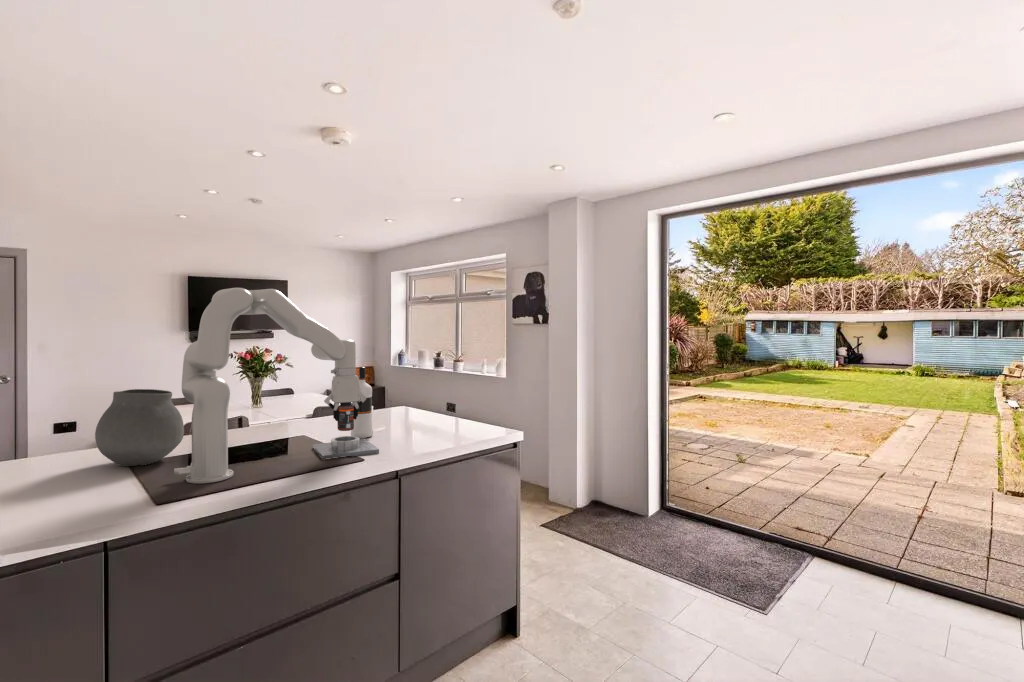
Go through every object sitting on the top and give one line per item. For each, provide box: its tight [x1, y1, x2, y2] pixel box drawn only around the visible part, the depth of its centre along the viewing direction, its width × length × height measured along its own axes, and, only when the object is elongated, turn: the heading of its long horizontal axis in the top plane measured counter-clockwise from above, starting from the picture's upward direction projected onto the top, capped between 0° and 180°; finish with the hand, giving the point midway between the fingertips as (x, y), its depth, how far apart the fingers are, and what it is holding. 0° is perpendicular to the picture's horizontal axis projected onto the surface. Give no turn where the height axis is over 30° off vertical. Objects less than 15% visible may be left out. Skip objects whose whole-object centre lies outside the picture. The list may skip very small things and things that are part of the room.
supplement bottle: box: [337, 402, 354, 432], centre depth 190 cm, size 6×6×11 cm
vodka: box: [350, 366, 374, 439], centre depth 215 cm, size 9×9×30 cm
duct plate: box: [312, 435, 380, 460], centre depth 190 cm, size 20×20×4 cm
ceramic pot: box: [94, 388, 185, 467], centre depth 170 cm, size 24×24×25 cm
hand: (345, 419), depth 190 cm, fingers closed on supplement bottle, 6 cm apart
